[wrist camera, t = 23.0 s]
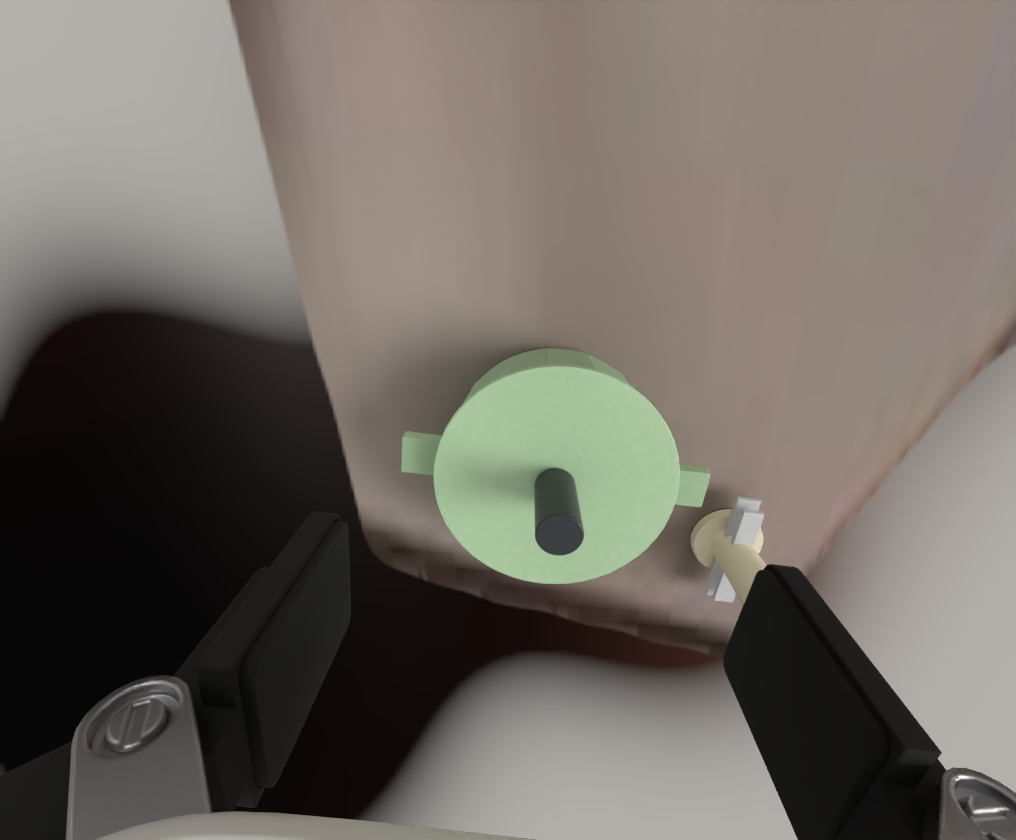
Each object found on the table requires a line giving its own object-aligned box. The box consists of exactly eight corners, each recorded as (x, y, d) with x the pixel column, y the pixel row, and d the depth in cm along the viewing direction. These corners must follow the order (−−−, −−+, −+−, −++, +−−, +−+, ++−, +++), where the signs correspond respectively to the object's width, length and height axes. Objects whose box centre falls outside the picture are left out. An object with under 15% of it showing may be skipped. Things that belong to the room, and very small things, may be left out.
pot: (422, 331, 31) (401, 350, 26) (708, 365, 31) (743, 390, 25) (415, 506, 36) (395, 552, 30) (661, 536, 35) (683, 586, 30)
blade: (705, 484, 34) (767, 572, 25) (774, 492, 34) (861, 583, 25) (677, 578, 37) (723, 685, 28) (740, 585, 37) (807, 695, 28)
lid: (443, 346, 26) (418, 376, 20) (701, 376, 26) (750, 416, 20) (431, 558, 31) (408, 630, 25) (645, 584, 31) (671, 662, 25)
